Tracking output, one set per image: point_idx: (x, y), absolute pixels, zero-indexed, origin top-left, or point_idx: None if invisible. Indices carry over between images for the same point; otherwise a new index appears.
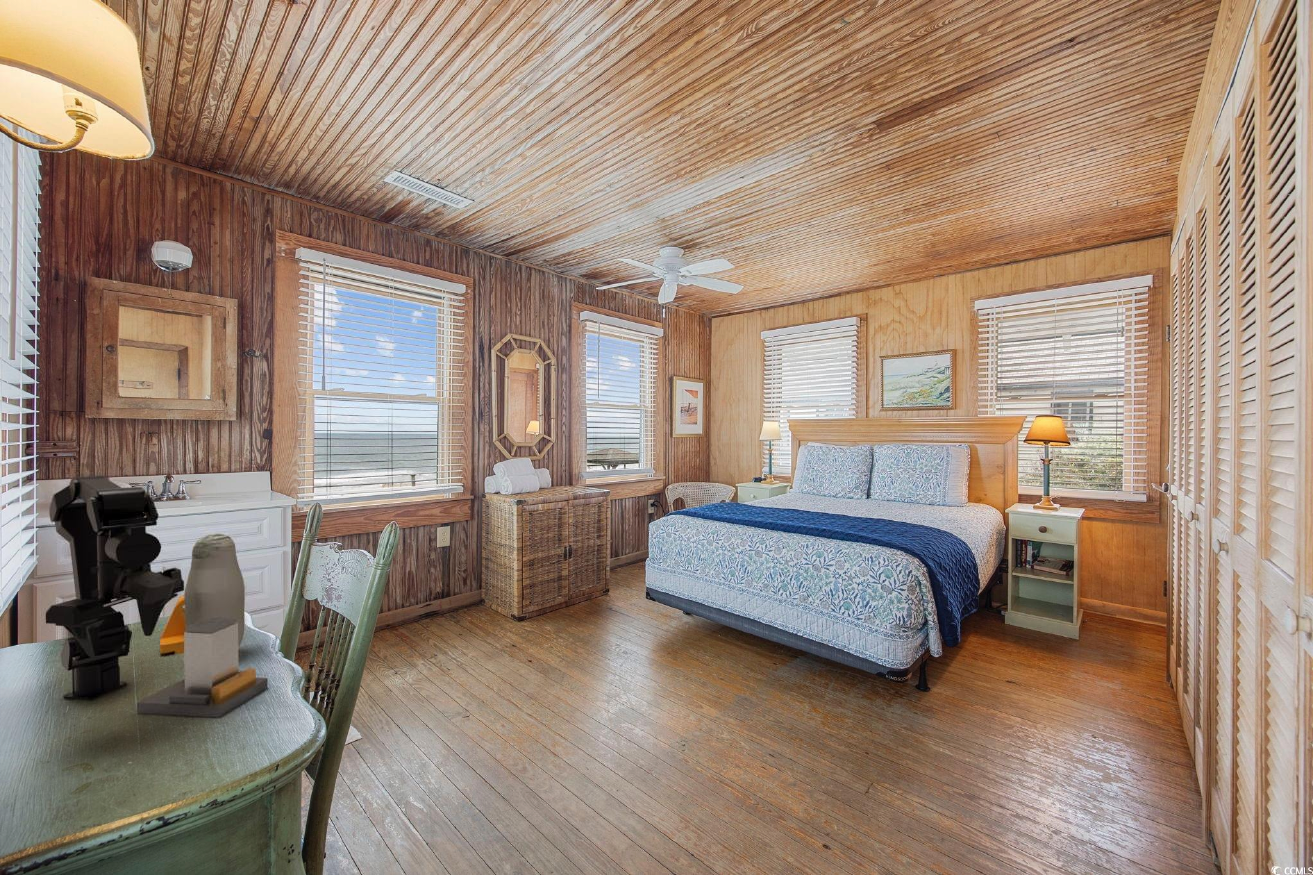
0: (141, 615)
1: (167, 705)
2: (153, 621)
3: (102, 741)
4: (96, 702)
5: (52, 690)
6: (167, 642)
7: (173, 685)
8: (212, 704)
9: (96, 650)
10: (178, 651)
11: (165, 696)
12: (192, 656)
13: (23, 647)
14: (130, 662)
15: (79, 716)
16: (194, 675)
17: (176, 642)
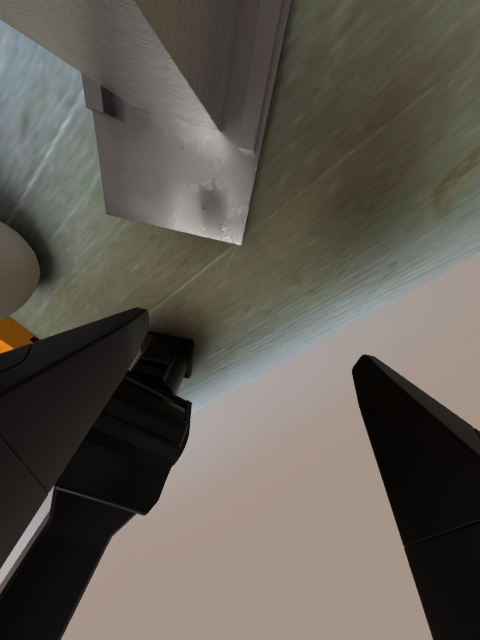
0: (84, 426)
1: (259, 155)
2: (94, 338)
3: (348, 222)
4: (199, 332)
5: None
6: None
7: (163, 221)
8: None
9: (388, 370)
10: (26, 334)
11: (216, 196)
12: (195, 1)
13: None
14: None
15: (241, 324)
16: (215, 51)
17: (12, 347)
